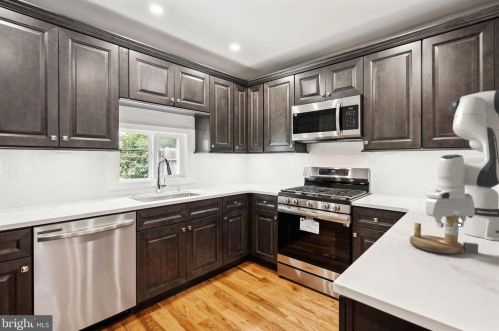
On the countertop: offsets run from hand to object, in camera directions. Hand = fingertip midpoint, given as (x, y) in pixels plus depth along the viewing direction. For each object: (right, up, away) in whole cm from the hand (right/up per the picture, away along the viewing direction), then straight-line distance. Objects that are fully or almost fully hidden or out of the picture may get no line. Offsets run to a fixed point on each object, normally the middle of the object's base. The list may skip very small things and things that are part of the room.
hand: (450, 226), depth 103 cm
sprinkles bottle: (0, -7, 0) cm, 7 cm away
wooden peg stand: (-5, -10, +2) cm, 11 cm away
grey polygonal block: (+6, -10, -2) cm, 12 cm away
